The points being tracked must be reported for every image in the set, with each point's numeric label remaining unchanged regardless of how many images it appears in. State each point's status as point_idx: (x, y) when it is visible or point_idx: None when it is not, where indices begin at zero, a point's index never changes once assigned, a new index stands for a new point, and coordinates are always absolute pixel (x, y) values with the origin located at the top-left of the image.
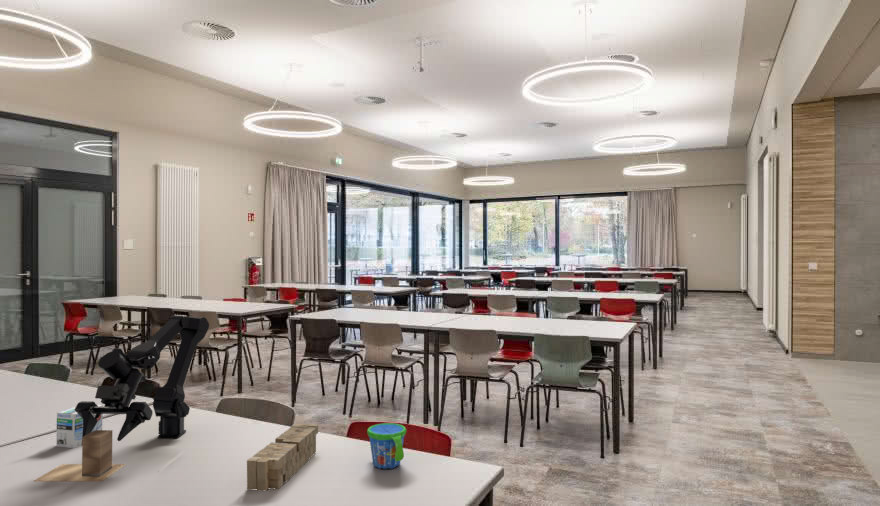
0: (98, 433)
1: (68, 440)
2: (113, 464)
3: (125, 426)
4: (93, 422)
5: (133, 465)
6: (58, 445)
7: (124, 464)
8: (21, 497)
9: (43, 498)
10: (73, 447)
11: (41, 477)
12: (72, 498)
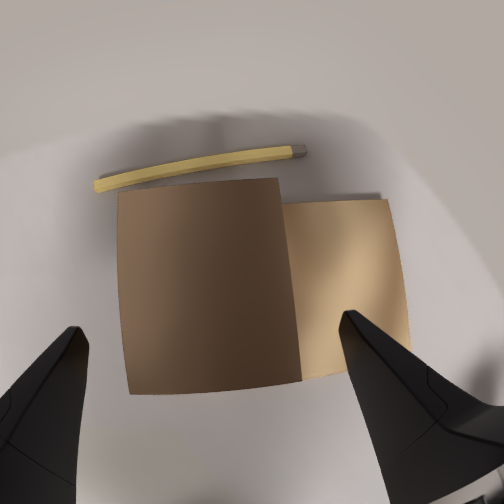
0: (199, 291)
1: None
2: None
3: (11, 390)
4: (402, 471)
5: (139, 410)
6: None
7: None
8: (331, 119)
9: (263, 112)
10: None
11: (387, 228)
12: (174, 118)
